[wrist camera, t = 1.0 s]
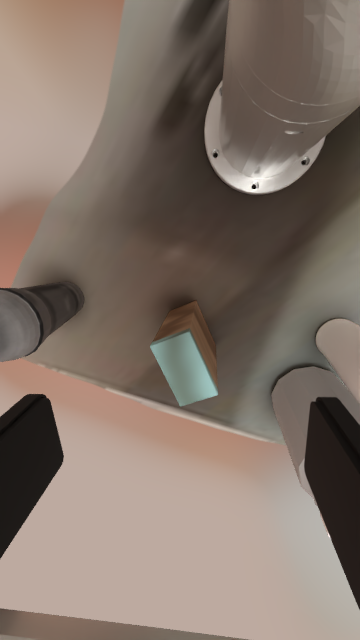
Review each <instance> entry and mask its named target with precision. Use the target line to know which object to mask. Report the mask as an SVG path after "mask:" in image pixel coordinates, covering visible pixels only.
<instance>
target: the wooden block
mask: <svg viewBox="0 0 360 640" xmlns="http://www.w3.org/2000/svg"><path fill="white" fill-rule="evenodd" d="M150 347H151V349H152V351H153V353H154V355H155V357H156V359H157V361H158V363H159V365H160V367H161V369H162V371H163V373H164V375H165V377H166V379H167V381H168V383H169V385H170V387H171V389H172V391H173V393H174V395H175V397H176V399H177V401H178V403H179V405H180V406H184V405H187V404H190V403H193V402H196V401H200V400H203V399H206V398H209V397H213V396H216V395H218V385H217V362H216V345H215V342H214V340H213V338H212V335H211V333H210V331H209V329H208V326H207V324H206V322H205V319H204V317H203V315H202V312H201V310H200V308H199V305H198V303H197V301H193V302H191V303H189V304H186V305H184V306H181V307H179V308H176V309H174V310H171V311H169V313H168V315H167V317H166V318H165V320H164V322H163V324H162V326H161V327H160V329H159V331H158V333H157V335H156V337H155V338H154V340H153V342H152V344H151V346H150Z"/></svg>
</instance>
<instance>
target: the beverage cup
mask: <svg viewBox="0 0 360 640" xmlns="http://www.w3.org/2000/svg"><path fill="white" fill-rule="evenodd" d="M83 304H84V296H83V293H82V291H81V290H80V288H79V287H78V286H76V285H75V284H73V283H70V282H63V283H60V282H59V283H52V284H46V285H39V286H33V287H26V288H20V289H18V288H0V362H3V361H10V360H16V359H19V358H21V357H24V356H28V355H30V354H31V353H33V352H35V351H36V350H37V349H38V347H39V346H40V345H41V344H42V343H43V342H44V340H45V339H46V338H47V337H48V336H49V335H50V334H51V333H53V332H54V331H55V330H56V329H58V328H59V327H60V326H61V325H63V324H64V323H65V322H66V321H68V320H69V319H70V318H71V317H73V316H74V315H75V314H76V313H77V312H78V311H79V310H80V309H81V308H82V307H83Z"/></svg>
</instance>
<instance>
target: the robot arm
mask: <svg viewBox="0 0 360 640" xmlns="http://www.w3.org/2000/svg"><path fill="white" fill-rule="evenodd" d="M221 94H222V96H221ZM359 106H360V0H229V7H228V18H227V30H226V43H225V56H224V69H223V79H222V81H221V82H220V84H219V85H218V87H217V88H216V90H215V92H214V94H213V96H212V98H211V101H210V103H209V107H208V110H207V114H206V119H205V128H204V137H205V146H206V152H207V155H208V158H209V161H210V164H211V166H212V167H213V169H214V171H215V173H216V174H217V175H218V176H219V178H220V179H221V180H222V181H223V182H224V183H225V184H227V185H228V186H229V187H231V188H233V189H234V190H236V191H238V192H241V193H245V194H249V195H264V194H270V193H273V192H276V191H279V190H282V189H283V188H285V187H287V186H289V185H290V184H292V183H293V182H295V181H296V180H297V179H299V178H300V177H301V176H302V175H303V174H304V173H305V172H306V171H307V170H308V169H309V168H310V166H311V165H312V164H313V162H314V161H315V159H316V158H317V156H318V154H319V152H320V150H321V148H322V146H323V144H324V141H325V138H326V135H327V134H328V133H329V132H330V131H332V130H333V129H334V128H335V127H336V126H337V125H338V124H340V123H341V122H342V121H343V120H344V119H345V118H347V117H348V116H349V115H350V114H351V113H352V112H353V111H355V110H356V109H357V108H358V107H359ZM214 154H217V155H218V156H217V158H214V157H213V155H214ZM301 161H304V162H305V164H304V165H302V164H301ZM252 185H255V186H256V189H252ZM63 457H64V455H63V451H62V447H61V443H60V438H59V435H58V431H57V426H56V422H55V418H54V414H53V410H52V406H51V402H50V400H49V399H48V398H46V396H45V395H43V394H28V395H26V396H24V397H23V398H22V399H21V400H20V401H18V402H17V403H16V404H15V405H14V406H12V407H11V408H10V409H9V410H8V411H7V412H5V414H3V415H2V416H1V417H0V558H1V557H2V555H3V554H4V552H5V551H6V549H7V548H8V546H9V545H10V543H11V542H12V540H13V538H14V537H15V535H16V534H17V532H18V531H19V529H20V528H21V526H22V525H23V523H24V522H25V520H26V519H27V517H28V516H29V514H30V513H31V511H32V510H33V508H34V506H35V505H36V503H37V502H38V500H39V499H40V497H41V496H42V494H43V493H44V491H45V490H46V488H47V487H48V485H49V483H50V482H51V480H52V479H53V477H54V476H55V474H56V473H57V471H58V470H59V468H60V467H61V465H62V462H63ZM304 470H305V475H306V478H307V481H308V483H309V486H310V488H311V490H312V493H313V495H314V498H315V500H316V503H317V505H318V508H319V510H320V513H321V515H322V518H323V520H324V523H325V525H326V528H327V530H328V533H329V535H330V538H331V540H332V543H333V545H334V548H335V550H336V553H337V555H338V558H339V560H340V563H341V565H342V568H343V570H344V573H345V575H346V577H347V580H348V582H349V585H350V588H351V590H352V592H353V595H354V597H355V600H356V602H357V604H358V607H359V609H360V425H359V424H358V422H357V421H356V420H355V419H354V417H353V416H352V415H351V414H350V412H349V411H348V410H347V409H346V407H345V406H344V405H343V404H342V402H341V401H340V400H339V399H338V398H337V397H317V398H316V401H312V402H311V403H310V411H309V421H308V430H307V440H306V450H305V460H304ZM0 640H246V639H239V638H231V637H224V636H216V635H208V634H201V633H192V632H185V631H178V630H170V629H163V628H155V627H147V626H139V625H131V624H122V623H115V622H107V621H99V620H91V619H82V618H74V617H66V616H58V615H49V614H42V613H33V612H25V611H17V610H8V609H0Z"/></svg>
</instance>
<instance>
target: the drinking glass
mask: <svg viewBox="0 0 360 640" xmlns="http://www.w3.org/2000/svg"><path fill="white" fill-rule="evenodd" d="M316 345H317V347H318V349H319V350H320V352H321V353H322V354H323V355H324V356H325V357H326V359H327V360H328V361H329V363H330V364H331V366H332V367H333V368H334V370H335V371H336V373H337V374H338V375H339V377H340V378H341V380H342V381H343V383H344V384H345V386H346V387H347V388H348V390H349V391H350V393H351V394H352V395H353V397H354V398H355V399H356V400H357V402H358V403H359V404H360V326H359V325H357V324H356V323H354V322H352V321H350V320H347V319H334V320H330V321H328V322H326V323H325V324H324V325H322V326H321V327H320V329H319V330H318V332H317V335H316Z"/></svg>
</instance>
